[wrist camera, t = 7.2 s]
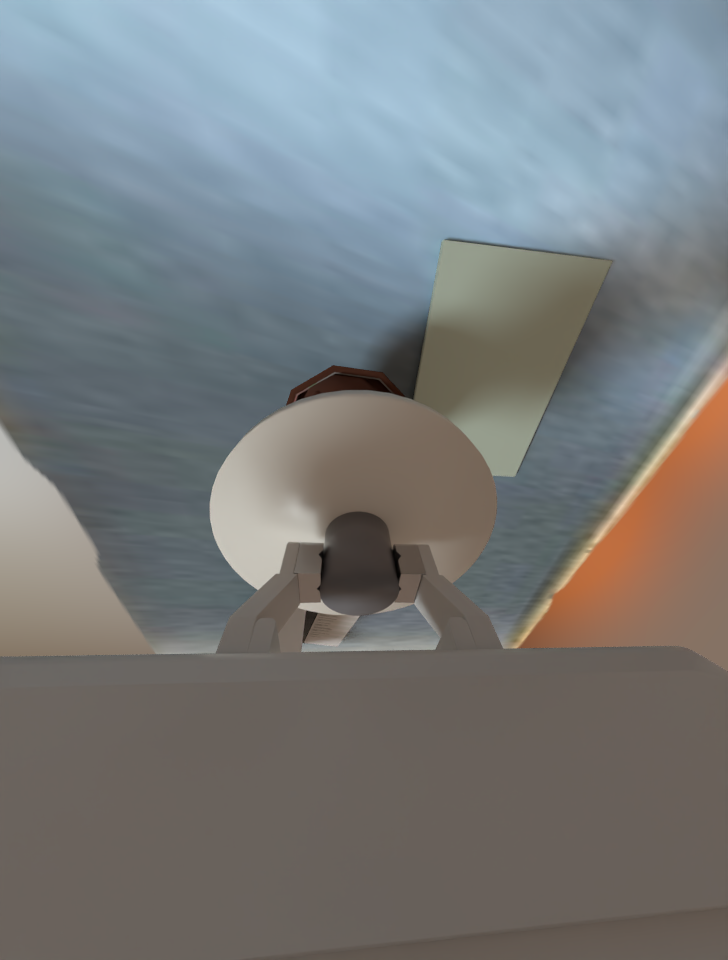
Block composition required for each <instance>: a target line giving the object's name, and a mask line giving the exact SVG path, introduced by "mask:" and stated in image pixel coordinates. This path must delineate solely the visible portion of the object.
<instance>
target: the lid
mask: <svg viewBox="0 0 728 960" xmlns="http://www.w3.org/2000/svg"><path fill="white" fill-rule="evenodd" d="M496 513H497V495H496V488H495V483H494V480H493V477H492V474H491V471H490V468H489V467H488V465H487V463H486V461H485V459H484V458H483V456H482V454H481V453H480V452H479V450H478V449H477V448H476V447H475V446H474V444H473V443H472V442H471V441H470V440H469V438H468V437H467V436H466V435H465V434H464V433H463V432H462V431H461V430H460V429H459V428H458V427H457V426H456V425H455V424H453V423H452V422H451V421H450V420H449V419H448V418H446V417H445V416H443V415H442V414H440V413H438V412H437V411H435V410H434V409H432V408H430V407H428V406H426V405H424V404H421V403H419V402H417V401H415V400H412V399H409V398H406V397H402V396H399V395H395V394H391V393H385V392H378V391H371V390H343V391H335V392H328V393H321V394H318V395H314V396H310V397H307V398H303V399H300V400H298V401H295V402H293V403H291V404H288V405H286V406H284V407H281V408H280V409H278V410H276V411H275V412H273V413H272V414H270V415H268V416H267V417H265V418H263V419H262V420H261V421H260V422H259V423H257V424H256V425H255V426H254V427H253V428H252V429H250V430H249V431H248V432H247V433H246V435H245V436H244V437H243V438H242V439H241V440H240V442H239V443H238V444H237V445H236V446H235V448H234V449H233V450H232V452H231V453H230V454H229V455H228V457H227V458H226V460H225V462H224V463H223V465H222V467H221V468H220V470H219V472H218V474H217V477H216V480H215V482H214V485H213V488H212V494H211V500H210V521H211V526H212V531H213V534H214V537H215V540H216V542H217V545H218V547H219V549H220V551H221V552H222V554H223V556H224V557H225V559H226V560H227V562H228V563H229V564H230V565H231V567H232V568H233V569H234V570H235V571H236V572H237V573H238V574H239V575H240V576H241V577H242V578H243V579H244V580H245V581H247V582H248V583H249V584H250V585H252V586H253V587H254V588H256V589H257V590H259V589H260V588H261V587H262V586H263V585H264V584H265V583H266V582H267V581H268V580H269V579H271V578H272V577H273V576H274V575H275V574H279V573H280V569H281V565H282V561H283V557H284V553H285V549H286V545H287V543H288V542H310V543H324V556H323V564H322V577H321V585H320V597H321V603H300V605H299V606H298V608H300V609H303V610H307V611H312V612H317V613H323V614H332V615H352V616H362V615H369V614H375V613H381V612H387V611H392V610H395V609H399V608H403V607H406V606H409V605H412V604H414V603H395V602H394V601H395V600H396V599H397V597H398V594H399V584H398V578H397V573H396V567H395V562H394V557H393V551H392V548H393V545H394V544H428V545H429V547H430V550H431V552H432V555H433V558H434V561H435V564H436V567H437V570H438V573H439V575H443V576H444V577H445V578H446V579H448V580H449V581H450V582H451V583H453V582H455V581H456V580H457V579H458V578H459V577H460V576H462V575H463V574H464V573H465V572H466V571H467V570H468V569H469V568H470V567H471V566H472V565H473V563H474V562H475V561H476V560H477V558H478V557H479V556H480V554H481V553H482V551H483V550H484V548H485V546H486V544H487V542H488V540H489V538H490V536H491V533H492V530H493V527H494V524H495V518H496Z"/></svg>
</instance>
